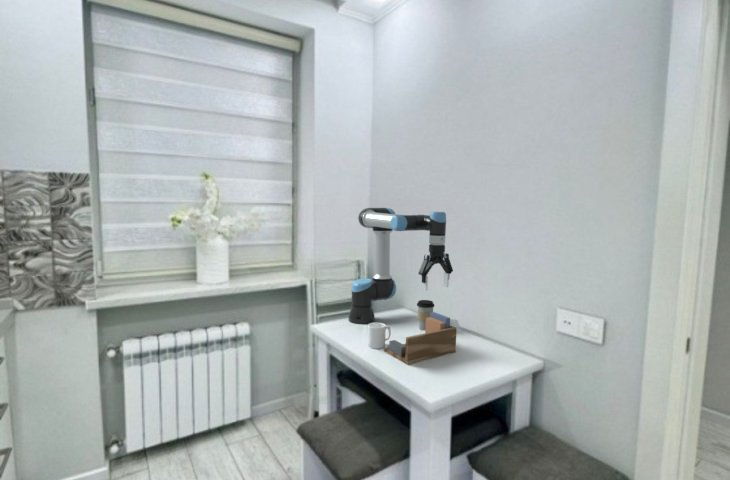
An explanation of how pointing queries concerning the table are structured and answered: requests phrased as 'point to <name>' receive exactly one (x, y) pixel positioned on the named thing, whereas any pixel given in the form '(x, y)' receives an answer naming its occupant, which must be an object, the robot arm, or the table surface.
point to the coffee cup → (424, 312)
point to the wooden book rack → (427, 346)
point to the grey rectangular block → (397, 348)
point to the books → (436, 322)
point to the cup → (377, 335)
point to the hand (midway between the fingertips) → (435, 288)
